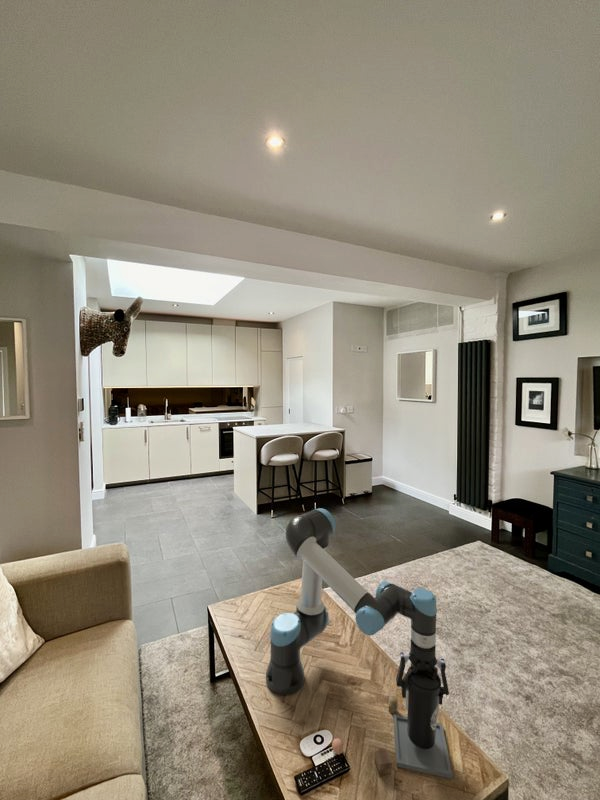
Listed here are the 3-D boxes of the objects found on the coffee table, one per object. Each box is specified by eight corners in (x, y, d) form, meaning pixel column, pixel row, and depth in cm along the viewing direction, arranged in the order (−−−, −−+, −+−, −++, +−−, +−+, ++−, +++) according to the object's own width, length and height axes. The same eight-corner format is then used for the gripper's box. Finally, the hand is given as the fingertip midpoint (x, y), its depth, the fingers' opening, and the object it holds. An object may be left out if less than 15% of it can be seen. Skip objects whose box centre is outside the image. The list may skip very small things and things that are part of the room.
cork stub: (388, 714, 123) (389, 702, 123) (388, 706, 126) (388, 694, 126) (397, 715, 122) (397, 703, 122) (397, 708, 125) (397, 696, 125)
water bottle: (434, 759, 105) (438, 686, 104) (400, 739, 110) (403, 670, 109) (440, 731, 114) (444, 663, 113) (409, 714, 119) (412, 650, 118)
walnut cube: (379, 777, 103) (379, 764, 103) (374, 762, 107) (374, 750, 107) (392, 775, 104) (392, 762, 104) (386, 761, 108) (387, 748, 108)
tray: (396, 766, 106) (396, 762, 106) (393, 717, 122) (393, 713, 122) (452, 778, 103) (452, 774, 103) (441, 727, 118) (441, 723, 118)
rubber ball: (331, 756, 109) (331, 745, 109) (332, 744, 112) (332, 733, 112) (342, 758, 108) (343, 747, 108) (343, 747, 112) (343, 736, 111)
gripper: (389, 644, 109) (387, 713, 110) (461, 655, 105) (459, 727, 106) (388, 628, 117) (386, 693, 118) (455, 637, 112) (454, 705, 113)
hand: (421, 709), depth 112 cm, fingers closed on water bottle, 8 cm apart
